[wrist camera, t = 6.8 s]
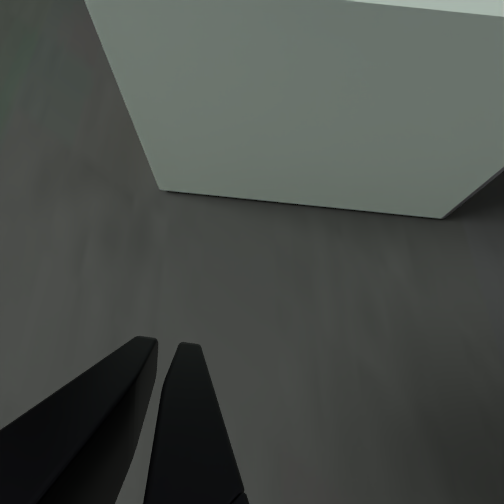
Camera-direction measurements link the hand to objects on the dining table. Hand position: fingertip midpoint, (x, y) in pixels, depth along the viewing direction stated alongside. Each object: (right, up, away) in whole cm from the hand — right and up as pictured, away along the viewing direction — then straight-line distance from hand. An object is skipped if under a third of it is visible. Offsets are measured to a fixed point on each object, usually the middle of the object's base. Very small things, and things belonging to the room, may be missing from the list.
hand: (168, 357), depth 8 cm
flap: (+5, +5, +14) cm, 16 cm away
